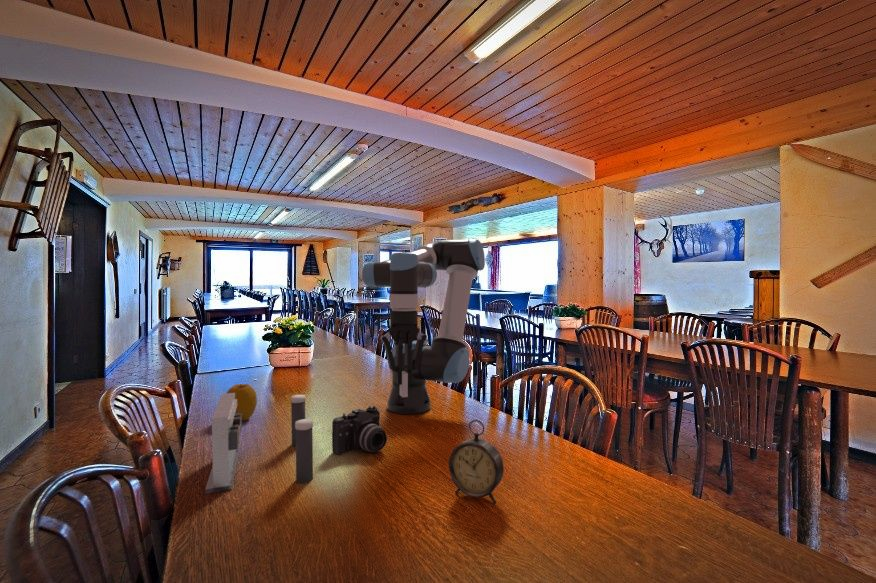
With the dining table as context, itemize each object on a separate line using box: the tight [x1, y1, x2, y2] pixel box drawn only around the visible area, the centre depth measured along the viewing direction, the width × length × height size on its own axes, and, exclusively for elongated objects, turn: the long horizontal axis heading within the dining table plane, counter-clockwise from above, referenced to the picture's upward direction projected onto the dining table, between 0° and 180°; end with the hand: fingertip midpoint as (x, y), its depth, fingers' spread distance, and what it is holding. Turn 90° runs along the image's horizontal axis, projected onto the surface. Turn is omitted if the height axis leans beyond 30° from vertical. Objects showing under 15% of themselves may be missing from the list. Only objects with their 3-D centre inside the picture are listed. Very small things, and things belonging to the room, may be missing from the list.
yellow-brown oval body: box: [226, 383, 258, 422], centre depth 135 cm, size 10×10×12 cm
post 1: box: [290, 394, 306, 448], centre depth 115 cm, size 4×4×13 cm
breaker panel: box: [204, 392, 243, 495], centre depth 99 cm, size 6×20×16 cm, turn 22°
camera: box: [331, 405, 388, 457], centre depth 112 cm, size 14×11×10 cm
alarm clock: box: [448, 419, 505, 505], centre depth 88 cm, size 11×5×16 cm, turn 62°
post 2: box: [295, 418, 314, 484], centre depth 95 cm, size 4×4×13 cm
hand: (403, 395), depth 115 cm, fingers closed
